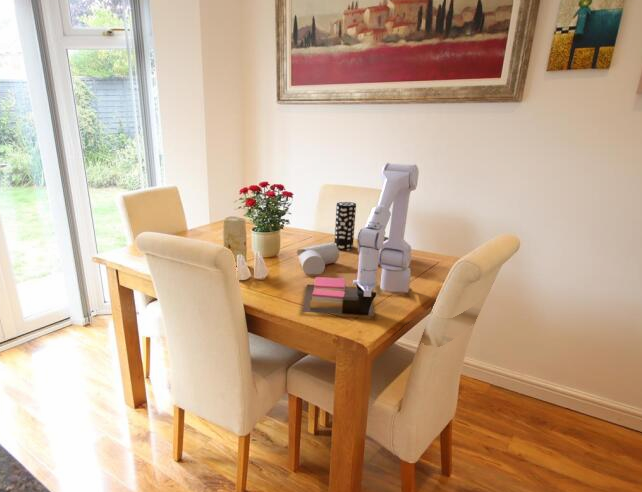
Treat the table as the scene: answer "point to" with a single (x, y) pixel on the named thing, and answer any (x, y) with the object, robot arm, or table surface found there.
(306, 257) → the bent grey cylinder
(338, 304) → the grey and black bar
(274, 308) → the table surface
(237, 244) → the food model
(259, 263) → the shaker set
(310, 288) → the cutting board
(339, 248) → the spotted tube
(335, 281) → the cake
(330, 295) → the cake slice
